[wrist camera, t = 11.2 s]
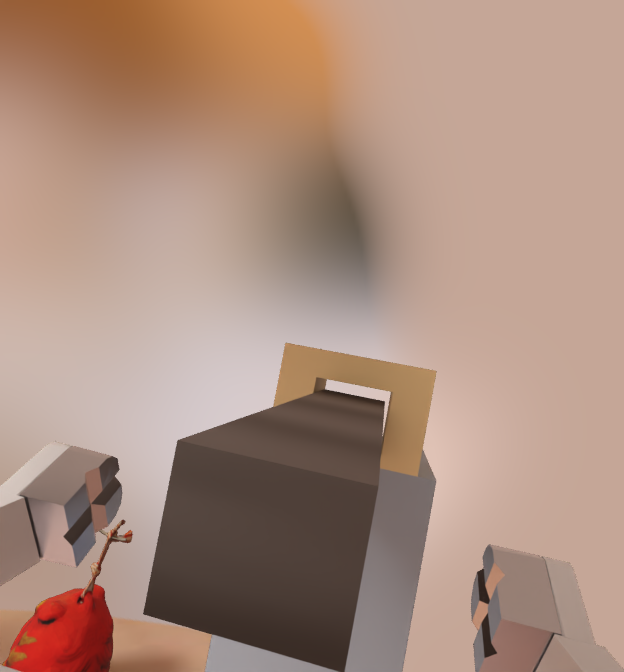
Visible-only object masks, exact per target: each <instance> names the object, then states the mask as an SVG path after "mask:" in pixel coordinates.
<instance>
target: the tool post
mask: <svg viewBox="0 0 624 672" xmlns="http://www.w3.org/2000/svg"><path fill="white" fill-rule="evenodd" d="M435 377H436V371H434V370H429V369H423V368H418V367H413V366H407V365H402V364H397V363H391V362H386V361H380V360H375V359H370V358H364V357H359V356H354V355H349V354H343V353H338V352H333V351H327V350H322V349H317V348H311V347H306V346H300V345H295V344H290V343H285V349H284V354H283V359H282V364H281V370H280V374H279V380H278V385H277V390H276V395H275V400H274V406H273V407H275V406H278V405H280V404H283V403H286V402H289V401H292V400H295V399H298V398H301V397H303V396H306V395H309V394H312V393H315V392H318V391H321V390H323V389H325V386H326V381H327V379H329V380H334V381H340V382H344V383H350V384H355V385H360V386H365V387H370V388H375V389H380V390H385V391H390V392H391V395H390V401H389V406H388V412H387V417H386V423H385V428H384V433H383V436H382V446H381V460H380V474H379V487H378V492H377V498H376V503H375V509H374V514H373V520H372V525H371V531H370V536H369V542H368V547H367V553H366V558H365V563H364V569H363V574H362V580H361V585H360V591H359V596H358V602H357V607H356V613H355V618H354V624H353V629H352V635H351V640H350V645H349V651H348V656H347V662H346V667H345V672H402V669H403V664H404V658H405V653H406V647H407V641H408V636H409V630H410V625H411V619H412V613H413V608H414V602H415V597H416V591H417V586H418V580H419V575H420V569H421V563H422V558H423V552H424V547H425V541H426V536H427V530H428V524H429V519H430V513H431V507H432V502H433V497H434V491H435V485H436V479H435V477H434V475H433V472H432V470H431V468H430V466H429V463H428V461H427V458H426V456H425V454H424V451H423V444H424V438H425V433H426V427H427V421H428V416H429V410H430V405H431V399H432V394H433V388H434V382H435ZM205 672H338V671H335V670H332V669H328V668H325V667H321V666H318V665H315V664H311V663H308V662H304V661H301V660H298V659H294V658H291V657H287V656H284V655H281V654H277V653H274V652H270V651H267V650H263V649H260V648H257V647H253V646H250V645H246V644H243V643H240V642H236V641H233V640H229V639H226V638H223V637H219V636H216V635H212V637H211V642H210V647H209V653H208V658H207V663H206V668H205Z"/></svg>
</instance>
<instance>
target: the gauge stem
mask: <svg viewBox="0 0 624 672" xmlns="http://www.w3.org/2000/svg"><path fill="white" fill-rule="evenodd" d="M384 405H385V402H384V401H380V400H375V399H370V398H365V397H360V396H355V395H350V394H345V393H340V392H335V391H330V390H325V389H323V390H321V391H318V392H315V393H312V394H309V395H306V396H303V397H301V398H298V399H295V400H292V401H289V402H286V403H283V404H280V405H278V406H275V407H272V408H269V409H266V410H263V411H261V412H258V413H255V414H252V415H249V416H246V417H243V418H240V419H237V420H235V421H232V422H229V423H226V424H223V425H220V426H217V427H214V428H212V429H209V430H206V431H203V432H200V433H197V434H194V435H192V436H189V437H186V438H183V439H180V440H178V441H177V446H176V451H175V456H174V461H173V466H172V471H171V476H170V481H169V486H168V491H167V497H166V501H165V507H164V512H163V517H162V522H161V527H160V532H159V537H158V542H157V547H156V552H155V558H154V562H153V567H152V572H151V577H150V582H149V588H148V593H147V598H146V603H145V608H144V613H143V614H144V615H148V616H151V617H155V618H158V619H161V620H165V621H168V622H172V623H175V624H178V625H182V626H185V627H189V628H192V629H195V630H199V631H202V632H206V633H209V634H212V635H216V636H219V637H223V638H226V639H229V640H233V641H236V642H240V643H243V644H246V645H250V646H253V647H257V648H260V649H263V650H267V651H270V652H274V653H277V654H281V655H284V656H287V657H291V658H294V659H298V660H301V661H304V662H308V663H311V664H315V665H318V666H321V667H325V668H328V669H332V670H335V671H338V672H345V667H346V662H347V656H348V651H349V645H350V640H351V635H352V629H353V624H354V618H355V613H356V607H357V602H358V596H359V591H360V585H361V580H362V574H363V569H364V563H365V558H366V553H367V547H368V542H369V536H370V531H371V525H372V520H373V514H374V509H375V503H376V498H377V492H378V487H379V474H380V460H381V446H382V432H383V419H384Z"/></svg>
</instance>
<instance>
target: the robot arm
mask: <svg viewBox="0 0 624 672" xmlns="http://www.w3.org/2000/svg"><path fill="white" fill-rule="evenodd" d="M118 471H119V465H118V459H117V458H115V457H113V456H109V455H106V454H102V453H98V452H95V451H91V450H87V449H83V448H79V447H76V446H70V445H66V444H62V443H59V442H52V443H49V444H47V445H46V446H45V447H44V448H43V449H41V450H40V451H39V452H38V453H37V454H36V455H35V456H34V457H32V458H31V459H30V460H29V461H28V462H27V463H26V464H25V465H24V466H22V467H21V468H20V469H19V470H18V471H17V472H16V473H15V474H14V475H12V476H11V477H10V478H9V479H8V480H7V481H6V482H5V483H3V484H2V485H1V486H0V586H1V585H3V584H4V583H6V582H8V581H9V580H11V579H13V578H14V577H16V576H17V575H19V574H21V573H22V572H24V571H25V570H27V569H28V568H30V567H32V566H33V565H35V564H37V563H38V562H40V559H43V560H47V561H51V562H55V563H59V564H63V565H67V566H71V567H75V568H76V567H77V566H78V565H79V564H80V562H81V561H82V560H83V559H84V557H85V556H86V555H87V553H88V552H89V551H90V549H91V548H92V547H93V546H94V544H95V543H96V536H95V535H96V534H95V533H96V532H98V531H100V530H102V529H104V528H105V527H108V526H109V524H110V523H111V522H112V520H113V519H114V517H115V516H116V514H117V511H118V509H119V506H120V504H121V499H122V486H121V484H120V482H119V481H118V480H117V479H116V477H115V475H116V473H117V472H118ZM483 565H484V569H482V570H480V571H478V572H477V575H476V578H475V581H474V585H473V592H472V599H471V602H472V603H471V613H472V622H473V624H474V625H475V627H476V628H477V630H478V633H477V636H476V639H475V641H474V644H473V645H474V657H475V671H476V672H624V669H623V668H622V667H621V665H620V664H619V663H618V662H617V661H616V660H615V658H614V657H613V656H612V655H611V654H610V653H609V652H608V650H607V649H606V648H605V647H602V646H599V645H596V643H595V640H594V637H593V633H592V630H591V626H590V623H589V619H588V616H587V613H586V609H585V606H584V602H583V599H582V596H581V592H580V589H579V586H578V582H577V579H576V575H575V572H574V569H573V567H572V565H571V564H570V563H569V562H565V561H560V560H556V559H552V558H547V557H540V556H539V555H535V554H530V553H525V552H521V551H516V550H512V549H508V548H503V547H499V546H494V545H488V546H487V548H486V550H485V552H484V555H483ZM0 672H21V671H18V670H15V669H12V668H9V667H6V666H3V665H0Z"/></svg>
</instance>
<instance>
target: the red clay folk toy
mask: <svg viewBox="0 0 624 672" xmlns="http://www.w3.org/2000/svg"><path fill="white" fill-rule="evenodd" d="M123 524H125V521H124V520H122V521H120V522H119V524H118V525H117V526H116V527H115V528H114V529H112V530H111V531H110V532H108V533H106V532H105V531H103V530H100V531H99V532H101V533H102V534H104V535H106V536H107V540H106V544H105V546H104V549H103V551H102V553H101V555H100V558H99V561H98V562H97V563H93V564H92V565H91V570H92V578H91V579H90V581H89V583H88V585H87V587H86V588H84V589H73V590H70V591H67V592H65V593H63V594H60V595H57V596H55V597H51V598H48V599H46V600H44V601H42V602H41V603H40V604H39V605H38V606H37V607H36V609H35V614H34V616H33V617H32V618H31V619H30V620H29V621H28V622H27V623H26V624H25V625H24V626H23V628H22V629H21V631H20V633H19V634H18V636H17V638H16V639H15V641H14V643H13V645H12V647H11V651H10V654H9V657H8V659H7V660H6V661H5V662H4V663H3V664H2V665H3V666H6V667H9V668H12V669H15V670H18V671H21V672H109V669H110V660H111V658H112V653H113V638H112V633H113V619H112V617H111V615H110V612H109V609H108V607H107V605H106V601H105V591H104V589H103V588H102V587H101V586H98V585H96V584H94V583H95V579H96V577H97V576H98V575H99V574H100V571H101V564H102V561H103V559H104V557H105V555H106V552H107V550H108V548H109V545H110V544H111V542H119V541H121V542H125V543H130V542H131V540H132V531H131V530H130V531H128V532H127V533H126V534H125V535H119V536H117V533H118V532H117V530H118V529H119V528H120V526H121V525H123Z"/></svg>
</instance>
